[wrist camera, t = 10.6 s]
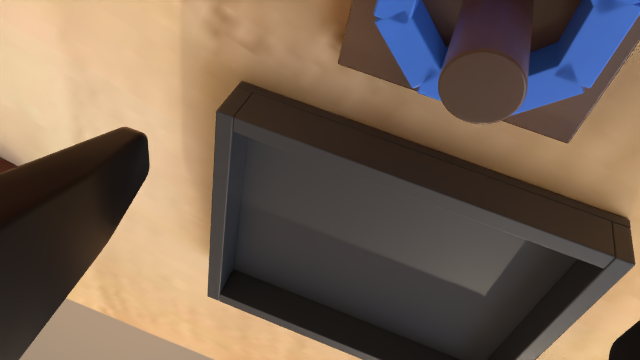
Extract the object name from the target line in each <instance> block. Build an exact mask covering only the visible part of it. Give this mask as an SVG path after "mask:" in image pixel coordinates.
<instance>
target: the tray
mask: <svg viewBox="0 0 640 360" xmlns="http://www.w3.org/2000/svg"><path fill="white" fill-rule="evenodd" d="M634 265H635V258H634V251H633V244H632V236H631V230H630V221H629V220H628V219H625V218H622V217H620V216H617V215H614V214H611V213H609V212H606V211H603V210H600V209H597V208H595V207H592V206H589V205H586V204H583V203H581V202H578V201H575V200H572V199H569V198H567V197H564V196H561V195H558V194H555V193H553V192H550V191H547V190H544V189H541V188H539V187H536V186H533V185H530V184H528V183H525V182H522V181H519V180H516V179H514V178H511V177H508V176H505V175H502V174H500V173H497V172H494V171H491V170H488V169H486V168H483V167H480V166H477V165H474V164H472V163H469V162H466V161H463V160H460V159H458V158H455V157H452V156H449V155H446V154H444V153H441V152H438V151H435V150H433V149H430V148H427V147H424V146H421V145H419V144H416V143H413V142H410V141H407V140H405V139H402V138H399V137H396V136H393V135H391V134H388V133H385V132H382V131H379V130H377V129H374V128H371V127H368V126H365V125H363V124H360V123H357V122H354V121H351V120H349V119H346V118H343V117H340V116H338V115H335V114H332V113H329V112H326V111H324V110H321V109H318V108H315V107H312V106H310V105H307V104H304V103H301V102H298V101H296V100H293V99H290V98H287V97H284V96H282V95H279V94H276V93H273V92H270V91H268V90H265V89H262V88H259V87H256V86H254V85H251V84H248V83H245V82H243V81H241V82H240V83H239V84H238V86H237V87H236V88H235V89H234V91H233V92H232V93H231V94H230V95H229V97H228V98H227V99H226V100H225V101H224V103H223V104H222V105H221V106H220V107H219V109H218V110H217V111H216V130H215V151H214V172H213V192H212V213H211V234H210V255H209V276H208V297H211V298H213V299H216V300H219V301H220V302H223V303H225V304H228V305H230V306H233V307H235V308H238V309H240V310H242V311H245V312H247V313H250V314H252V315H255V316H257V317H260V318H262V319H265V320H267V321H269V322H272V323H274V324H277V325H279V326H282V327H284V328H287V329H289V330H291V331H294V332H296V333H299V334H301V335H304V336H306V337H309V338H311V339H314V340H316V341H318V342H321V343H323V344H326V345H328V346H331V347H333V348H336V349H338V350H341V351H343V352H345V353H348V354H350V355H353V356H355V357H358V358H360V359H363V360H536V359H537V358H538V357H539V356H540V355H541V354H542V353H543V352H544V351H545V350H546V349H547V348H548V347H549V346H550V345H551V344H552V343H553V342H555V341H556V340H557V339H558V338H559V337H560V336H561V335H562V334H563V333H564V332H565V331H566V330H567V329H568V328H569V327H570V326H571V325H572V324H573V323H575V322H576V321H577V320H578V319H579V318H580V317H581V316H582V315H583V314H584V313H585V312H586V311H587V310H588V309H589V308H590V307H591V306H592V305H593V304H595V303H596V302H597V301H598V300H599V299H600V298H601V297H602V296H603V295H604V294H605V293H606V292H607V291H608V290H609V289H610V288H611V287H612V286H613V285H615V284H616V283H617V282H618V281H619V280H620V279H621V278H622V277H623V276H624V275H625V274H626V273H627V272H628V271H629V270H630V269H631V268H632V267H633V266H634Z"/></svg>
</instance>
